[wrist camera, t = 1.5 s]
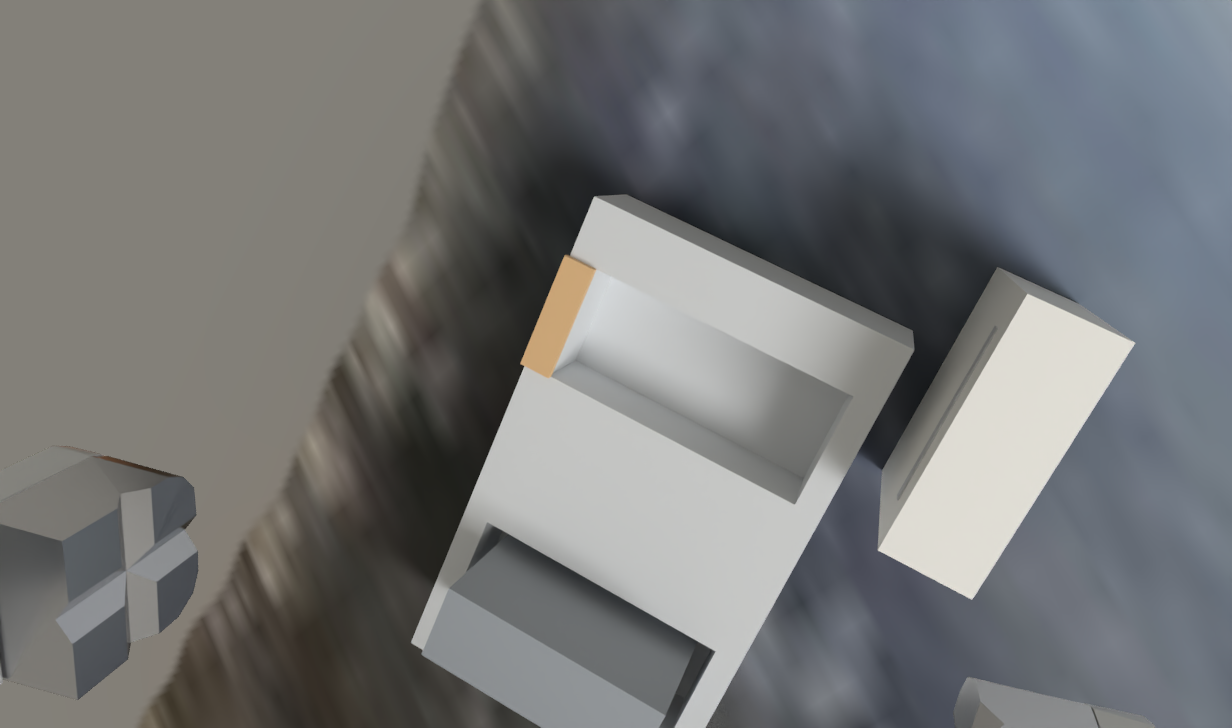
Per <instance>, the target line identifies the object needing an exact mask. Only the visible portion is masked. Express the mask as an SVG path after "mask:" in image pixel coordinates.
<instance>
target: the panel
mask: <svg viewBox="0 0 1232 728" xmlns="http://www.w3.org/2000/svg"><path fill="white" fill-rule="evenodd" d="M1134 344H1135V342H1133V341H1132V340H1130V339H1129V338H1127V337H1126V336H1125V335H1123V334H1122V333H1120V332H1119V331H1117V330H1116V329H1115V328H1113V327H1112V326H1110V325H1109V324H1107V323H1106V322H1104V321H1103V320H1102V319H1100V318H1099V317H1097V316H1096V315H1094V314H1093V313H1092V312H1090V311H1089V310H1087V309H1086V308H1084V307H1083V306H1081V305H1080V304H1078V303H1076V302H1074V301H1072V300H1069V299H1067V298H1065V297H1063V296H1061V295H1058V294H1056V293H1054V292H1052V291H1050V290H1047V289H1045V288H1043V287H1041V286H1039V285H1036V284H1034V283H1032V282H1030V281H1027V280H1025V279H1023V278H1021V277H1019V276H1016V275H1014V274H1012V273H1010V272H1008V271H1005V270H1003V269H1001V268H999V267H997V269H996V270H995V272H994V274H993V276H992V277H991V279H990V281H989V283H988V284H987V286H986V288H985V290H984V292H983V293H982V295H981V297H980V299H979V300H978V302H977V304H976V306H975V307H974V309H973V311H972V313H971V314H970V316H969V318H968V320H967V321H966V323H965V325H964V327H963V329H962V330H961V332H960V334H959V336H958V337H957V339H956V341H955V343H954V344H953V346H952V348H951V350H950V351H949V353H948V355H947V357H946V359H945V360H944V362H943V364H942V366H941V367H940V369H939V371H938V373H937V374H936V376H935V378H934V380H933V381H932V383H931V385H930V387H929V388H928V390H927V392H926V394H925V396H924V397H923V399H922V401H921V403H920V404H919V406H918V408H917V410H916V411H915V413H914V415H913V417H912V418H911V420H910V422H909V424H908V425H907V427H906V429H905V431H904V433H903V434H902V436H901V438H900V440H899V441H898V443H897V445H896V447H895V448H894V450H893V452H892V454H891V455H890V457H889V459H888V461H887V462H886V464H885V466H884V468H883V470H882V481H881V500H880V518H879V537H878V551H880V552H882V553H884V554H886V555H888V556H890V557H892V558H894V559H896V560H897V561H899V562H901V563H903V564H905V565H907V566H909V567H911V568H913V569H915V570H916V571H918V572H920V573H922V574H924V575H926V576H928V577H930V578H932V579H934V580H936V581H937V582H939V583H941V584H943V585H945V586H947V587H949V588H951V589H953V590H955V591H956V592H958V593H960V594H962V595H964V596H966V597H968V598H970V599H973V598H974V596H975V595H976V593H977V591H978V590H979V588H980V587H981V585H982V584H983V582H984V580H985V579H986V577H987V576H988V574H989V572H990V571H991V569H992V568H993V566H994V565H995V563H996V561H997V560H998V558H999V557H1000V555H1001V554H1002V552H1003V550H1004V549H1005V547H1006V546H1007V544H1008V543H1009V541H1010V539H1011V538H1012V536H1013V535H1014V533H1015V532H1016V530H1017V528H1018V527H1019V525H1020V524H1021V522H1022V521H1023V519H1024V517H1025V516H1026V514H1027V513H1028V511H1029V509H1030V508H1031V506H1032V505H1033V503H1034V502H1035V500H1036V498H1037V497H1038V495H1039V494H1040V492H1041V491H1042V489H1043V487H1044V486H1045V484H1046V483H1047V481H1048V480H1049V478H1050V476H1051V475H1052V473H1053V472H1054V470H1055V469H1056V467H1057V465H1058V464H1059V462H1060V461H1061V459H1062V457H1063V456H1064V454H1065V453H1066V451H1067V450H1068V448H1069V446H1070V445H1071V443H1072V442H1073V440H1074V439H1075V437H1076V435H1077V434H1078V432H1079V431H1080V429H1081V428H1082V426H1083V424H1084V423H1085V421H1086V420H1087V418H1088V417H1089V415H1090V413H1091V412H1092V410H1093V409H1094V407H1095V406H1096V404H1097V402H1098V401H1099V399H1100V398H1101V396H1102V394H1103V393H1104V391H1105V390H1106V388H1107V387H1108V385H1109V383H1110V382H1111V380H1112V379H1113V377H1114V376H1115V374H1116V372H1117V371H1118V369H1119V368H1120V366H1121V365H1122V363H1123V361H1124V360H1125V358H1126V357H1127V355H1128V354H1129V352H1130V350H1131V349H1132V347H1133V346H1134Z"/></svg>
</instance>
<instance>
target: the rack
mask: <svg viewBox="0 0 1232 728" xmlns="http://www.w3.org/2000/svg"><path fill="white" fill-rule="evenodd" d="M914 350H915V349H914V338H913V330H910V329H908V328H906V327H904V326H902V325H900V324H898V323H896V322H894V321H892V320H889V319H887V318H885V317H883V316H881V315H879V314H877V313H875V312H873V311H871V310H868V309H866V308H864V307H862V306H860V305H858V304H856V303H854V302H852V301H849V300H847V299H845V298H843V297H841V296H839V295H837V294H835V293H833V292H831V291H828V290H826V289H824V288H822V287H820V286H818V285H816V284H814V283H812V282H810V281H807V280H805V279H803V278H801V277H799V276H797V275H795V274H793V273H791V272H789V271H786V270H784V269H782V268H780V267H778V266H776V265H774V264H772V263H770V262H767V261H765V260H763V259H761V258H759V257H757V256H755V255H753V254H751V253H749V252H746V251H744V250H742V249H740V248H738V247H736V246H734V245H732V244H730V243H728V242H725V241H723V240H721V239H719V238H717V237H715V236H713V235H711V234H709V233H707V232H704V231H702V230H700V229H698V228H696V227H694V226H692V225H690V224H688V223H686V222H683V221H681V220H679V219H677V218H675V217H673V216H671V215H669V214H667V213H664V212H662V211H660V210H658V209H656V208H654V207H652V206H650V205H648V204H646V203H643V202H641V201H639V200H637V199H635V198H633V197H631V196H629V195H627V194H624V195H608V196H594V198H593V201H592V203H591V206H590V208H589V210H588V213H587V215H586V218H585V220H584V223H583V225H582V227H581V230H580V232H579V235H578V237H577V240H576V242H575V245H574V247H573V249H572V252H571V254H570V256H569V255H564V258H563V260H562V263H561V265H560V268H559V270H558V273H557V275H556V277H555V280H554V282H553V285H552V287H551V290H550V292H549V295H548V297H547V299H546V302H545V304H544V307H543V309H542V312H541V314H540V317H539V319H538V321H537V324H536V326H535V329H534V331H533V334H532V336H531V339H530V341H529V343H528V346H527V348H526V351H525V353H524V356H523V358H522V361H521V363H520V364H522V365H524V369H523V371H522V374H521V376H520V378H519V381H518V383H517V386H516V388H515V391H514V393H513V395H512V398H511V400H510V403H509V405H508V408H507V410H506V413H505V415H504V417H503V420H502V422H501V425H500V427H499V430H498V432H497V434H496V437H495V439H494V442H493V444H492V447H491V449H490V451H489V454H488V456H487V459H486V461H485V464H484V466H483V469H482V471H481V473H480V476H479V478H478V481H477V483H476V486H475V488H474V490H473V493H472V495H471V498H470V500H469V503H468V505H467V507H466V510H465V512H464V515H463V517H462V520H461V522H460V525H459V527H458V529H457V532H456V534H455V537H454V539H453V542H452V544H451V546H450V549H449V551H448V554H447V556H446V559H445V561H444V563H443V566H442V568H441V571H440V573H439V576H438V578H437V581H436V583H435V585H434V588H433V590H432V593H431V595H430V598H429V600H428V602H427V605H426V607H425V610H424V612H423V615H422V617H421V619H420V622H419V624H418V627H417V629H416V632H415V634H414V637H413V639H412V641H411V643H412V644H414V645H416V646H417V647H419V648H421V649H422V650H423V652H422V654H421V655H423V656H424V657H426V658H428V659H429V660H431V661H433V662H434V663H436V664H437V665H439V666H441V667H442V668H444V669H446V670H447V671H449V672H451V673H452V674H454V675H456V676H457V677H459V678H461V679H462V680H464V681H465V682H467V683H469V684H470V685H472V686H474V687H475V688H477V689H479V690H480V691H482V692H484V693H485V694H487V695H489V696H490V697H492V698H493V699H495V700H497V701H498V702H500V703H502V704H503V705H505V706H507V707H508V708H510V709H512V710H513V711H515V712H517V713H518V714H520V715H522V716H523V717H525V718H526V719H528V720H530V721H531V722H533V723H535V724H536V725H538V726H540V727H541V728H705V727H706V725H707V724H708V722H709V720H710V718H711V716H712V715H713V713H714V711H715V709H716V707H717V706H718V704H719V702H720V700H721V698H722V697H723V695H724V693H725V691H726V689H727V687H728V686H729V684H730V682H731V680H732V678H733V677H734V675H735V673H736V671H737V669H738V668H739V666H740V664H741V662H742V660H743V659H744V657H745V655H746V653H747V651H748V650H749V648H750V646H751V644H752V642H753V641H754V639H755V637H756V635H757V633H758V632H759V630H760V628H761V626H762V624H763V623H764V621H765V619H766V617H767V615H768V614H769V612H770V610H771V608H772V606H773V604H774V603H775V601H776V599H777V597H778V595H779V594H780V592H781V590H782V588H783V586H784V585H785V583H786V581H787V579H788V577H789V576H790V574H791V572H792V570H793V568H794V567H795V565H796V563H797V561H798V559H799V558H800V556H801V554H802V552H803V550H804V549H805V547H806V545H807V543H808V541H809V540H810V538H811V536H812V534H813V532H814V531H815V529H816V527H817V525H818V523H819V521H820V520H821V518H822V516H823V514H824V512H825V511H826V509H827V507H828V505H829V503H830V502H831V500H832V498H833V496H834V494H835V493H836V491H837V489H838V487H839V485H840V484H841V482H842V480H843V478H844V476H845V475H846V473H847V471H848V469H849V467H850V466H851V464H852V462H853V460H854V458H855V457H856V455H857V453H858V451H859V449H860V447H861V446H862V444H863V442H864V440H865V438H866V437H867V435H868V433H869V431H870V429H871V428H872V426H873V424H874V422H875V420H876V419H877V417H878V415H879V413H880V411H881V410H882V408H883V406H884V404H885V402H886V401H887V399H888V397H889V395H890V393H891V392H892V390H893V388H894V386H895V384H896V383H897V381H898V379H899V377H900V375H901V374H902V372H903V370H904V368H905V366H906V364H907V363H908V361H909V359H910V357H911V355H912V354H913V352H914Z"/></svg>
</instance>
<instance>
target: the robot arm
mask: <svg viewBox="0 0 1232 728" xmlns="http://www.w3.org/2000/svg"><path fill="white" fill-rule="evenodd" d="M195 516H196V506H195V494H194V487H193V486H192V485H191V484H190V483H189V482H188V481H187V480H186V479H185V478H184V477H181V476H178V475H174V474H171V473H167V472H164V471H160V470H156V469H153V468H149V467H145V466H142V465H138V464H135V463H131V462H127V461H124V460H120V459H117V458H113V457H109V456H103V455H101V454H99V453H95V452H91V451H87V450H83V449H78V448H74V447H70V446H69V447H68V446H51V447H50V448H47V449H45V450H43V451H41V452H38V453H36V454H34V455H32V456H30V457H28V458H26V459H23V460H21V461H19V462H17V463H15V464H13V465H11V466H9V467H6V468H4V469H2V470H0V685H1V684H2V683H3V680H7V681H11V682H14V683H18V684H21V685H25V686H29V687H32V688H36V689H39V690H43V691H47V692H50V693H54V694H58V695H61V696H65V697H68V698H72V699H76V700H78V699H80V698H81V697H82V696H83V695H84V694H86V693H87V692H88V691H89V690H91V689H92V688H93V687H94V686H96V685H97V684H98V683H99V682H101V681H102V680H103V679H104V678H105V677H107V676H108V675H109V674H110V673H112V672H113V671H114V670H115V669H117V668H118V667H119V666H120V665H121V664H123V663H124V662H125V661H126V660H128V655H129V650H130V644H131V642H134V641H137V640H140V639H144V638H147V637H150V636H153V635H156V634H159V633H160V632H162V631H163V630H164V629H165V628H166V627H167V626H168V625H170V624H171V623H172V622H173V621H174V620H175V619H177V618H178V617H179V615H180V614H181V612H182V610H183V608H184V607H185V605H186V604H187V602H188V600H189V599H190V597H191V595H192V594H193V591H194V587H195V582H196V578H197V574H198V551H197V549H196V547H195V546H194V544H193V543H192V541H191V539H190V537H189V536H188V534H187V533H186V531H185V529H186V527H187V526H188V525H189V524H190V522H191V521H192V520H193V519H194V517H195ZM953 715H954V722H955V728H1155V726H1154V724H1153V723H1151V722H1150V721H1149V720H1148V719H1147V718H1145V717H1144V716H1141V715H1136V714H1132V713H1127V712H1123V711H1118V710H1113V709H1109V708H1104V707H1100V706H1095V705H1091V704H1086V703H1084V704H1082V703H1078V702H1074V701H1069V700H1065V699H1061V698H1056V697H1052V696H1048V695H1044V694H1039V693H1035V692H1031V691H1026V690H1022V689H1018V688H1014V687H1009V686H1005V685H1001V684H996V683H992V682H988V681H984V680H979V679H975V678H971V677H968V678H967V679H966V681H965V683H964V685H963V687H962V688H961V690H960V693H959V696H958V699H957V702H956V705H955V709H954V712H953Z"/></svg>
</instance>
